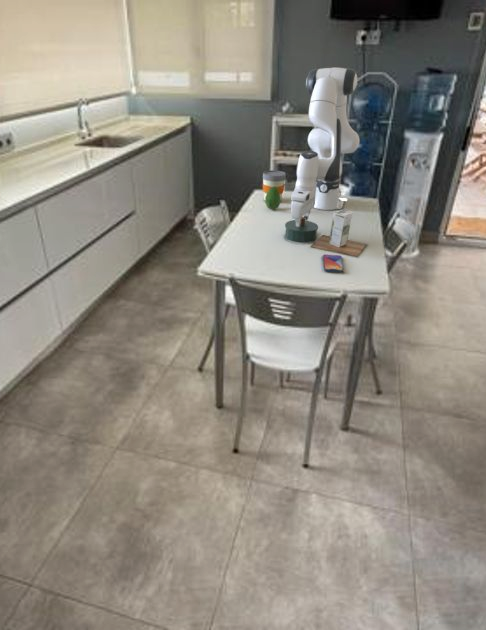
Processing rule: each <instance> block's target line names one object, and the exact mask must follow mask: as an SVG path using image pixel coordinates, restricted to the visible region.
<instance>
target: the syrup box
mask: <svg viewBox="0 0 486 630" xmlns="http://www.w3.org/2000/svg"><path fill="white" fill-rule="evenodd" d="M352 218H353V212H351V211H348V210H345V209H338V210H337V211H334V212H333V215H332V220H331V227H330V234H329V236H330V239H329V244H330V245H333V246H336V247H339V248H340V247H342V246H344V245H346V244H347V240H349V234H350V229H351V223H352Z"/></svg>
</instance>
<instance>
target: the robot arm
mask: <svg viewBox="0 0 486 630" xmlns="http://www.w3.org/2000/svg"><path fill="white" fill-rule="evenodd" d="M357 86H358V73H357V71H356V70H355V69H353V68H351V67H350V68H349V67H348V68H345V67H336V66H335V67H323V68H319V67H318V68H312V69H311V70H310V71H309V72H308V74H307V77H306V79H305V87H306V91H307V92H308V93H309V95H311V96H310V101H309V106H308V118H309V119H308V120H309V121H310V123H311V124H312V125H313V126H315V127H316V128H312V130H311V131H310V132H309V133H308V136H307V144H308V146H309V148H310V149H311V150H305V151H302V152H301V153H300V154H299V158H298V161H297V163H296V172H295V173H296V174H295V175H296V181H295V186H294V187H295V188H294V190H293V191H292V193H291V196H290V200H291V204H290V217H291V219H292V220H295V221H296V226H297V227H299V226H300V225H301V222H300V219H301V217H305V220H306V221H309V217H310V215H311V210H313V209H314V208H315V209H317V210H321V211H322V210H324V211H333V210H343V206H344V203H345V202H347V201H348V199H347V198H341V197H342V191H341V188H340V184H341V183H340V182H341V176H342V173H343V163H342V154H345V155H346V154H353V153H355V152H356V151H357V150H358V148H359V146H360V136H359V134H358V132H356V130H355V129H353V128H352V127H351V126H352V125H350V123H349V120H348V116H347V104H348V96H350V95H352V94H353V93H354V92H355V90H356V88H357Z"/></svg>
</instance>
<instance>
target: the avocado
mask: <svg viewBox="0 0 486 630" xmlns="http://www.w3.org/2000/svg"><path fill="white" fill-rule="evenodd" d="M264 203H265V206H266V207H267V208H268V209H269V210H272V211H274V210H277V209H278V208H280V204H281V201H280V194H279V192H278V189H277V188H276V187H275V186H273V187H271V188H270V189H269V191H268V193H267V195H266V198H265V200H264Z"/></svg>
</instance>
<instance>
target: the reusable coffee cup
mask: <svg viewBox="0 0 486 630" xmlns="http://www.w3.org/2000/svg"><path fill="white" fill-rule="evenodd" d="M286 176H287V174H286V172H285V171H282V170H273V169H272V170H265V171H263V172H262V192H263V199H264V201H265V198H266V195H267V193H268V191H269V189H270V188H271V187H273V186H275V187H276V188H277V189H278V192H279V194H280V202H281V201H282V198H283V197H282V196H283V193H284V190H285V185H286V184H285V182H286V180H287V177H286Z"/></svg>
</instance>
